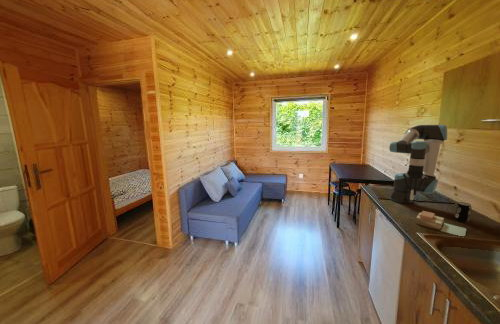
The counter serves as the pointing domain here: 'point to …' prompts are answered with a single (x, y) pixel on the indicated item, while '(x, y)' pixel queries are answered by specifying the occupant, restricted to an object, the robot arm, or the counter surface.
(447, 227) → the mat
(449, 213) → the counter surface
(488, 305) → the counter surface
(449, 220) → the counter surface
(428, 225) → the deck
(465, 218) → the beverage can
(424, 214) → the tile
